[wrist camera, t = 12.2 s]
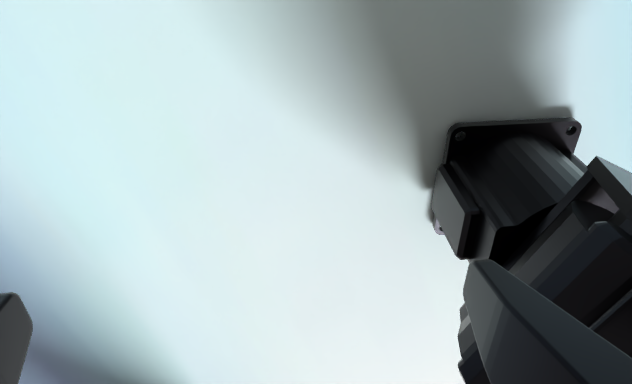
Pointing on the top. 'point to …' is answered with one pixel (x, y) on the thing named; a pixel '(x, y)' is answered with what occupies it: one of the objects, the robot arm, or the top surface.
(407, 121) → the top surface
